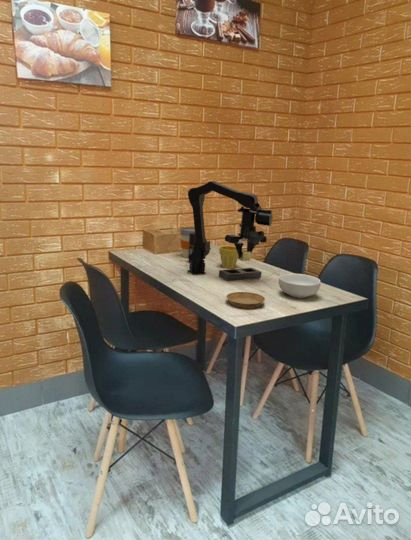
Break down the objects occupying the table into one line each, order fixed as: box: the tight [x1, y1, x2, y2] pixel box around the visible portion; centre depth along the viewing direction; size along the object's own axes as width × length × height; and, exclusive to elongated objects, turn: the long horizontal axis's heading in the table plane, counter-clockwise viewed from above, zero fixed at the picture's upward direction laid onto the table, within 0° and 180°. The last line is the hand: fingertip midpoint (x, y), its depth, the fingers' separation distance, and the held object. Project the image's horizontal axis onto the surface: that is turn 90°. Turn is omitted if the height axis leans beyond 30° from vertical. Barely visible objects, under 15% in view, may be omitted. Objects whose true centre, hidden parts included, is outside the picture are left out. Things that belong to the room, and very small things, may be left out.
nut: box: [237, 249, 252, 262], centre depth 204 cm, size 4×4×4 cm
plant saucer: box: [225, 291, 266, 309], centre depth 174 cm, size 15×15×3 cm
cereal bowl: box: [278, 273, 321, 299], centre depth 187 cm, size 17×17×7 cm
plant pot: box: [218, 245, 238, 269], centre depth 228 cm, size 10×10×10 cm
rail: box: [218, 267, 263, 282], centre depth 210 cm, size 18×8×3 cm, turn 117°
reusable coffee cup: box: [179, 227, 195, 259], centre depth 244 cm, size 13×12×15 cm
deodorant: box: [187, 233, 195, 264], centre depth 232 cm, size 6×6×15 cm
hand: (244, 257), depth 204 cm, fingers closed on nut, 4 cm apart
